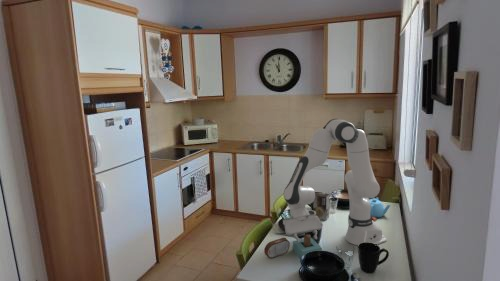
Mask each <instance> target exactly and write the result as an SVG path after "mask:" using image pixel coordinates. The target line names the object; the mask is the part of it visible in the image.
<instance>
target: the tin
mask: <svg viewBox="0 0 500 281" xmlns="http://www.w3.org/2000/svg"><path fill="white" fill-rule="evenodd" d="M290 244H291V243H290V241H289V240H288V239H287V238H286V237H281V238H280V237H279V238H277V239H274V240H272V241H268V242H267V244H266V245H265V247H264V250H263V252H264V255H265V256H267V257H268V258H269V259H273V258H276V257H279V256H281V255H282V256H283V255H285V254H286V253H287V252H288V251H289V249H290Z"/></svg>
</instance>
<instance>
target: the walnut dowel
mask: <svg viewBox="0 0 500 281" xmlns="http://www.w3.org/2000/svg"><path fill="white" fill-rule="evenodd" d="M311 238H312V237H311V234H308V233H304V234H303V239H304V247H305V248H306V247H311Z"/></svg>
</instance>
